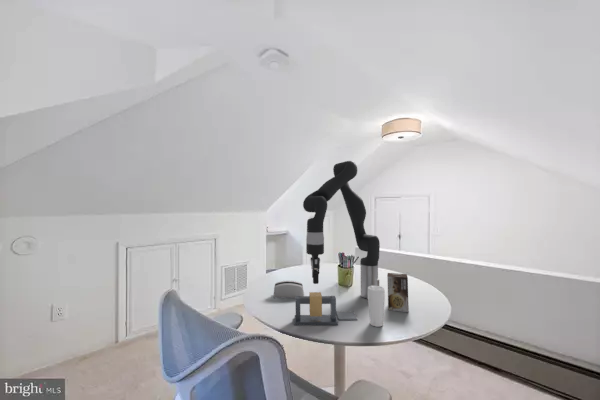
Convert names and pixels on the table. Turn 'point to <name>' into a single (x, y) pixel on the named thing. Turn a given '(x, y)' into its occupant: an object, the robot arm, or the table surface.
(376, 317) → the drinking glass
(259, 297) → the table surface
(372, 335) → the table surface
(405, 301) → the cookie box
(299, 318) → the rail stand
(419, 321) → the table surface
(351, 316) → the slate pad
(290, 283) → the grey curved block
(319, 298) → the block
